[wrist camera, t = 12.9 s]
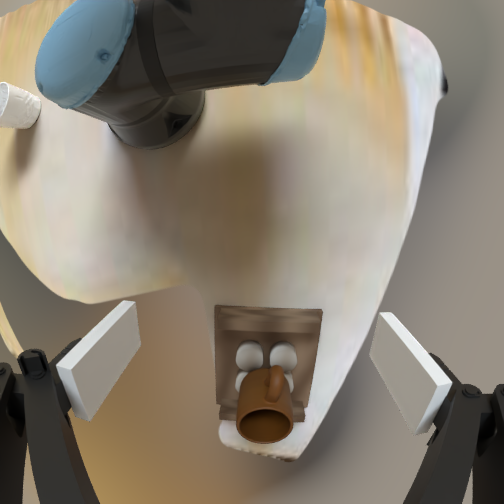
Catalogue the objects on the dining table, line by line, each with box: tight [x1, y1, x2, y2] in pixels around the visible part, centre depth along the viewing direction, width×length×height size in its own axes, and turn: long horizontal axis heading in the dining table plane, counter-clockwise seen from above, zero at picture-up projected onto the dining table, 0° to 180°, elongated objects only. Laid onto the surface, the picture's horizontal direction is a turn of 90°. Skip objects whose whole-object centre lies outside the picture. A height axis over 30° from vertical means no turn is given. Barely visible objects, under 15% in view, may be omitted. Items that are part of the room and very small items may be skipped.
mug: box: [236, 365, 293, 444], centre depth 36 cm, size 12×8×9 cm, turn 169°
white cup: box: [0, 82, 41, 129], centre depth 33 cm, size 8×8×10 cm
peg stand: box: [215, 305, 323, 422], centre depth 43 cm, size 16×19×5 cm
